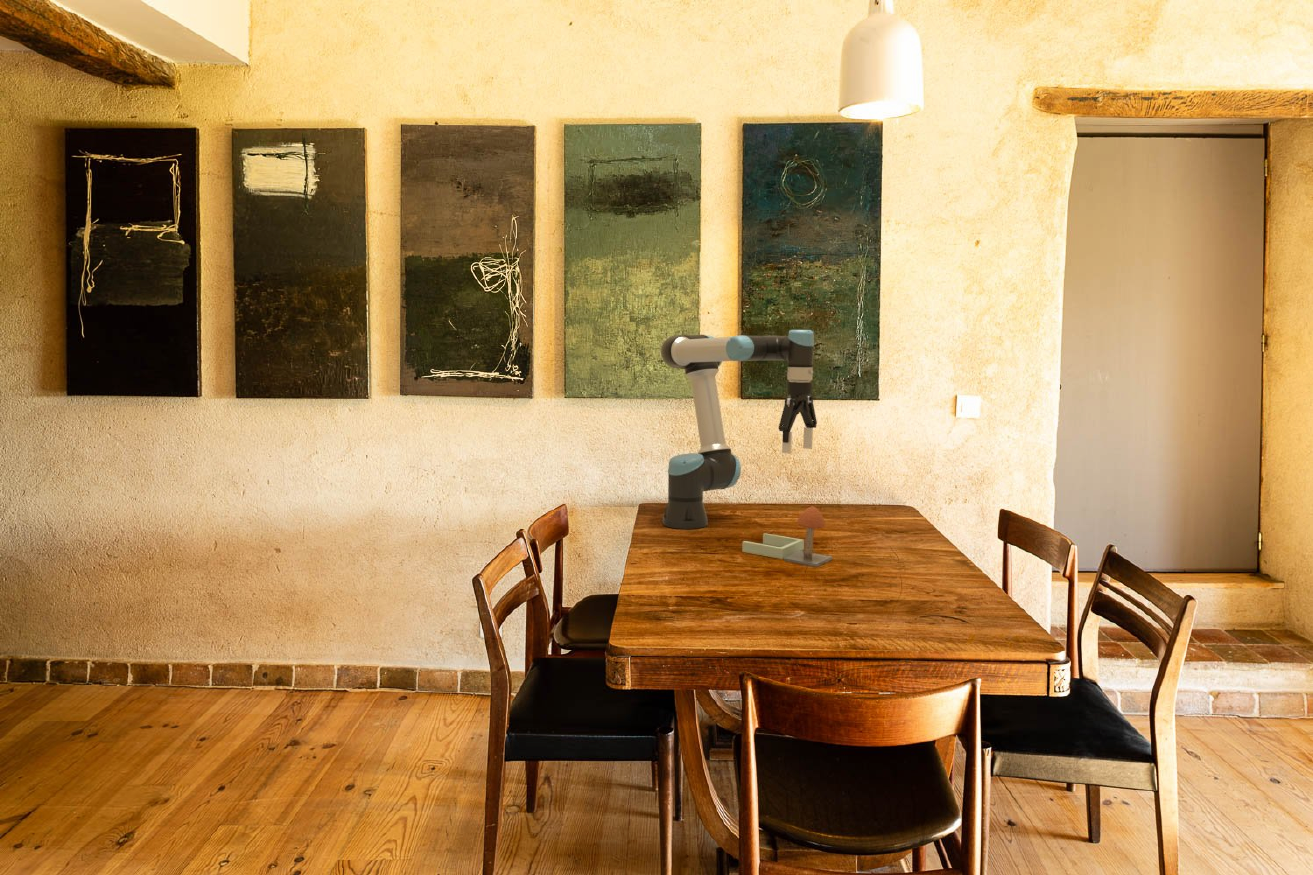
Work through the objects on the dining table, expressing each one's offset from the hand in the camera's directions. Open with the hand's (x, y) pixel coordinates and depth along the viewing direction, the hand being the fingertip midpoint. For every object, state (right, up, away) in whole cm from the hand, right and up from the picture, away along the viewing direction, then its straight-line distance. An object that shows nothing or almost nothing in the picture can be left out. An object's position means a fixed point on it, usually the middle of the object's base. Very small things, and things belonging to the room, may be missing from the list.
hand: (797, 450), depth 251 cm
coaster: (0, -31, -17) cm, 35 cm away
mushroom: (0, -30, -17) cm, 35 cm away
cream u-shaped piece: (-8, -29, -7) cm, 31 cm away
